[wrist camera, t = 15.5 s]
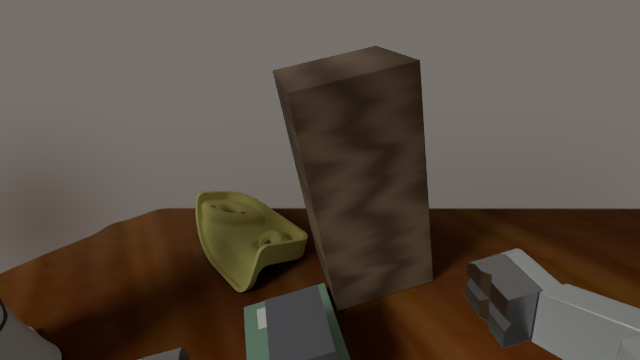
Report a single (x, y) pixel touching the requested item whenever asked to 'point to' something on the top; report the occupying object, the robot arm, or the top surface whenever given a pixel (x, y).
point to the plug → (298, 327)
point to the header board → (259, 338)
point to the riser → (361, 169)
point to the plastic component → (244, 236)
